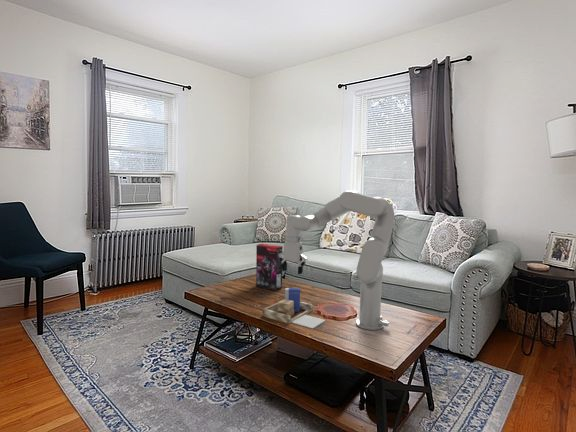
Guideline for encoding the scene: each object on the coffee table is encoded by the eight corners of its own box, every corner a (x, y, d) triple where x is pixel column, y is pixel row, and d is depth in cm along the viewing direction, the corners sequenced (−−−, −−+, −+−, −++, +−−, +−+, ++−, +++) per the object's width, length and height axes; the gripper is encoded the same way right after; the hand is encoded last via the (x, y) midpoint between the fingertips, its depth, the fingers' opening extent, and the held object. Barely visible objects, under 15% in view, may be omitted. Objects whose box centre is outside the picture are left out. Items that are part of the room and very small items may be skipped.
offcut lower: (294, 317, 173) (294, 309, 172) (287, 320, 168) (287, 312, 168) (284, 314, 176) (284, 306, 176) (277, 318, 171) (277, 310, 171)
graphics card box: (255, 286, 224) (255, 244, 222) (262, 284, 230) (262, 243, 228) (276, 291, 215) (276, 247, 212) (282, 288, 220) (283, 246, 218)
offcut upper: (293, 308, 173) (293, 300, 173) (288, 312, 168) (288, 304, 168) (283, 306, 176) (283, 299, 175) (278, 310, 170) (278, 302, 170)
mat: (325, 320, 168) (325, 320, 168) (312, 328, 158) (312, 328, 158) (304, 315, 175) (304, 314, 175) (291, 322, 165) (291, 321, 165)
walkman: (299, 310, 182) (300, 287, 181) (299, 312, 180) (299, 289, 179) (284, 309, 183) (285, 287, 182) (284, 311, 180) (284, 288, 179)
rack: (312, 311, 181) (312, 304, 181) (289, 323, 164) (289, 316, 164) (287, 304, 190) (287, 298, 190) (262, 316, 173) (262, 309, 173)
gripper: (311, 240, 176) (310, 273, 178) (283, 236, 186) (282, 268, 188) (303, 242, 170) (302, 276, 172) (275, 238, 180) (274, 270, 182)
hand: (292, 272), depth 180 cm, fingers open, 9 cm apart
